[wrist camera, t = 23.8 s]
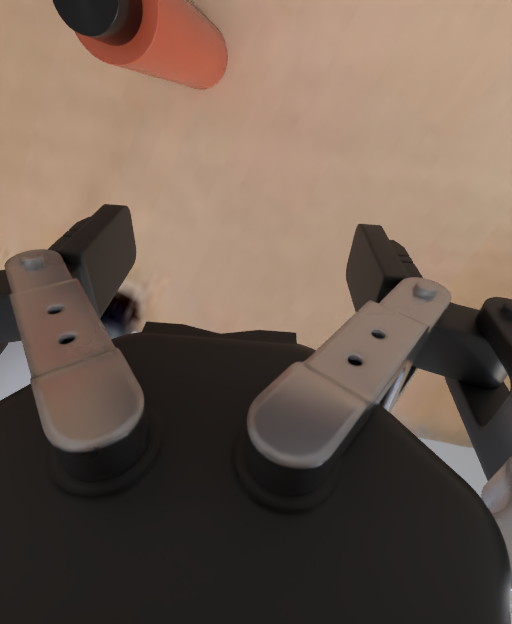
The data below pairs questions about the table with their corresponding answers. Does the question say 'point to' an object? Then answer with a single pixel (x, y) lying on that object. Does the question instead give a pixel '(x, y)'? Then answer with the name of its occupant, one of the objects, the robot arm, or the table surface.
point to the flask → (150, 38)
